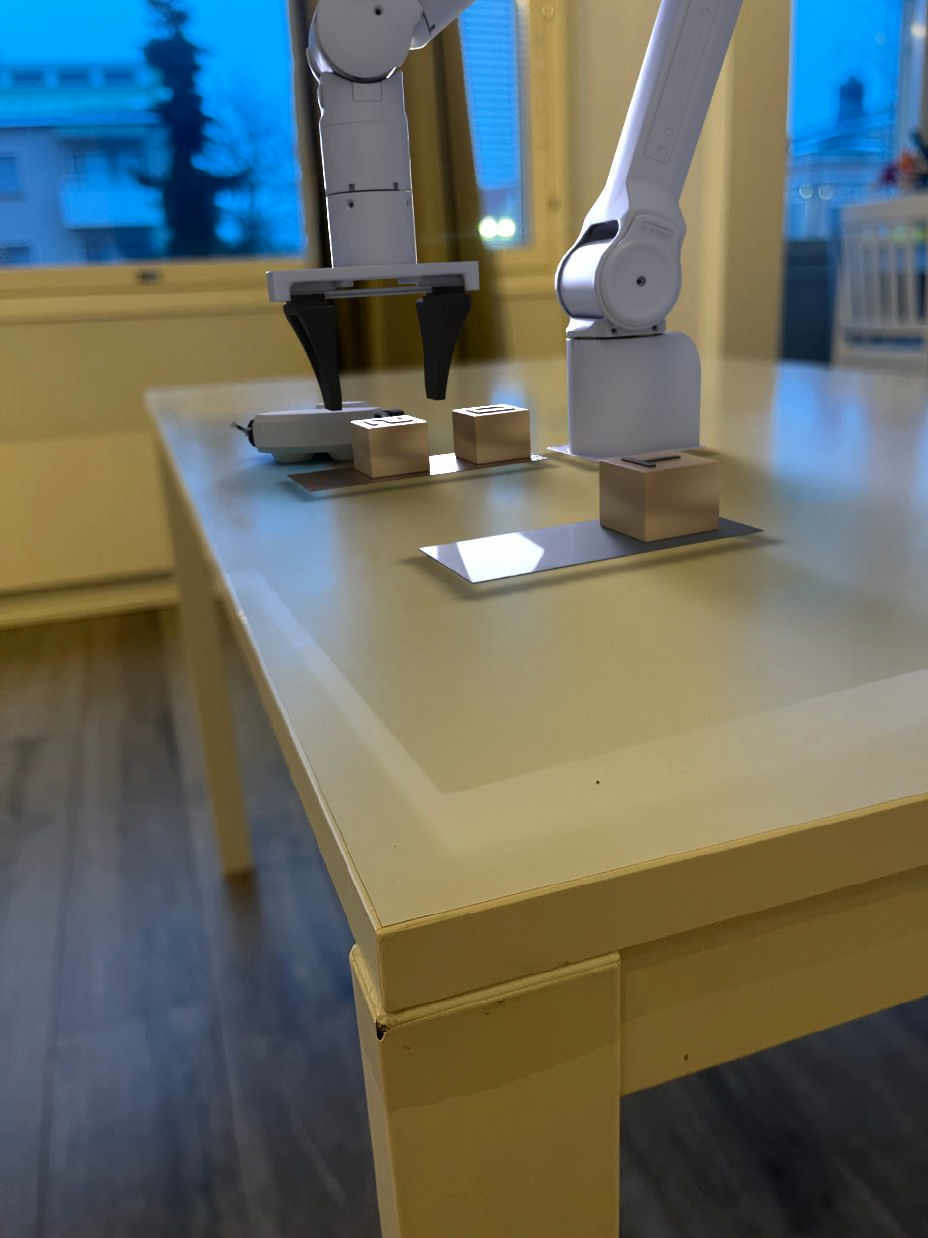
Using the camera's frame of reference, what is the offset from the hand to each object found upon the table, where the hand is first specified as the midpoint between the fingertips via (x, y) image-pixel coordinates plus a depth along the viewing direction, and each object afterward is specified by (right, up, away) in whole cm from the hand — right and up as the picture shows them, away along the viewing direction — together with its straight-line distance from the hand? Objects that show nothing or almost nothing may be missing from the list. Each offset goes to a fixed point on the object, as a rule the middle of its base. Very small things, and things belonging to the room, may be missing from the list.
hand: (385, 404), depth 68 cm
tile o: (+8, -3, +4) cm, 9 cm away
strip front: (+12, -12, -19) cm, 26 cm away
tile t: (+16, -10, -18) cm, 26 cm away
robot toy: (-5, -2, +12) cm, 13 cm away
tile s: (0, -4, +2) cm, 5 cm away
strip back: (+2, -5, +2) cm, 6 cm away
